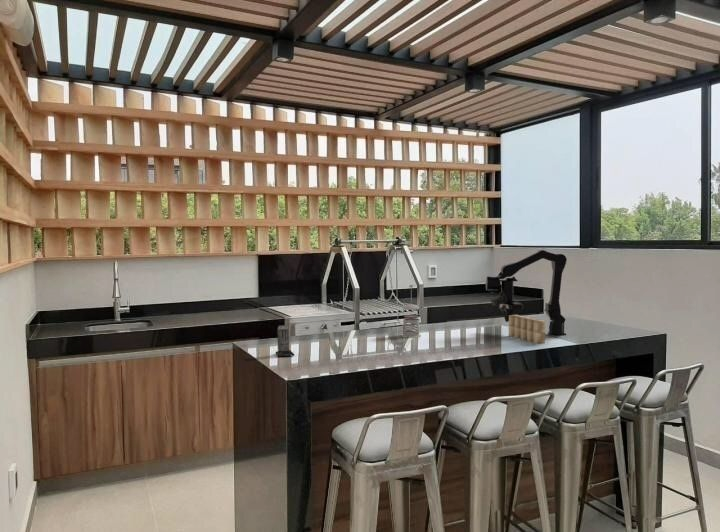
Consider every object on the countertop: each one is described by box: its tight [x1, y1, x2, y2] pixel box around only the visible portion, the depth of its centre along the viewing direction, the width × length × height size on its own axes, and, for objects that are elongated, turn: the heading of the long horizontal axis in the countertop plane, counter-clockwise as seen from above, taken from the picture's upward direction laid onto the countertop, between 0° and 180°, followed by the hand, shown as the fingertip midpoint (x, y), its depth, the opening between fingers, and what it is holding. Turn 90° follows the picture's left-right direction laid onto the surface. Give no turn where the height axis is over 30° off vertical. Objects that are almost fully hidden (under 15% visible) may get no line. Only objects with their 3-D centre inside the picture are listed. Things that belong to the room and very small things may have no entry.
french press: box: [397, 284, 422, 339], centre depth 268 cm, size 10×12×25 cm
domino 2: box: [513, 315, 527, 339], centre depth 264 cm, size 5×2×10 cm, turn 109°
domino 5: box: [532, 319, 546, 344], centre depth 250 cm, size 5×2×10 cm, turn 109°
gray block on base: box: [274, 324, 295, 357], centre depth 225 cm, size 9×8×12 cm
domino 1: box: [508, 314, 521, 337], centre depth 268 cm, size 5×2×10 cm, turn 109°
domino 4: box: [526, 318, 540, 342], centre depth 255 cm, size 5×2×10 cm, turn 109°
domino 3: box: [520, 317, 533, 341], centre depth 259 cm, size 5×2×10 cm, turn 109°
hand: (506, 321), depth 274 cm, fingers closed
